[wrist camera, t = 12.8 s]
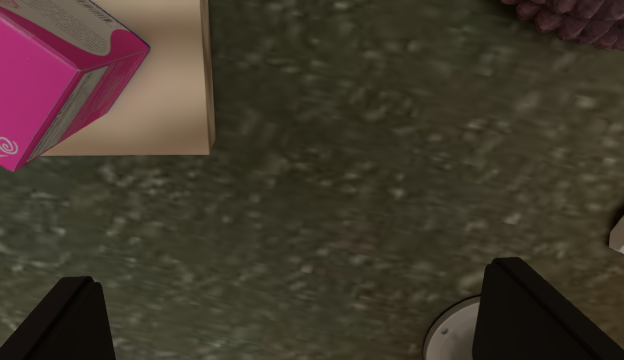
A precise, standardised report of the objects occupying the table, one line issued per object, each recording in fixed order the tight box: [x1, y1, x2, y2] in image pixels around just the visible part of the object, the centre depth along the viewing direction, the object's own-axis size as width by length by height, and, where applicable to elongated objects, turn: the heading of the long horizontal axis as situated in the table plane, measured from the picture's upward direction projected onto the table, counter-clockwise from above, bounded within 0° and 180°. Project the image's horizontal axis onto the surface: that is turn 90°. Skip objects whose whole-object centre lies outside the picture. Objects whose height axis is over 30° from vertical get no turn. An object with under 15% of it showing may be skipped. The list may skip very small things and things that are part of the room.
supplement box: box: [0, 0, 151, 172], centre depth 21 cm, size 6×6×12 cm
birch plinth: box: [40, 0, 216, 156], centre depth 28 cm, size 14×14×4 cm
